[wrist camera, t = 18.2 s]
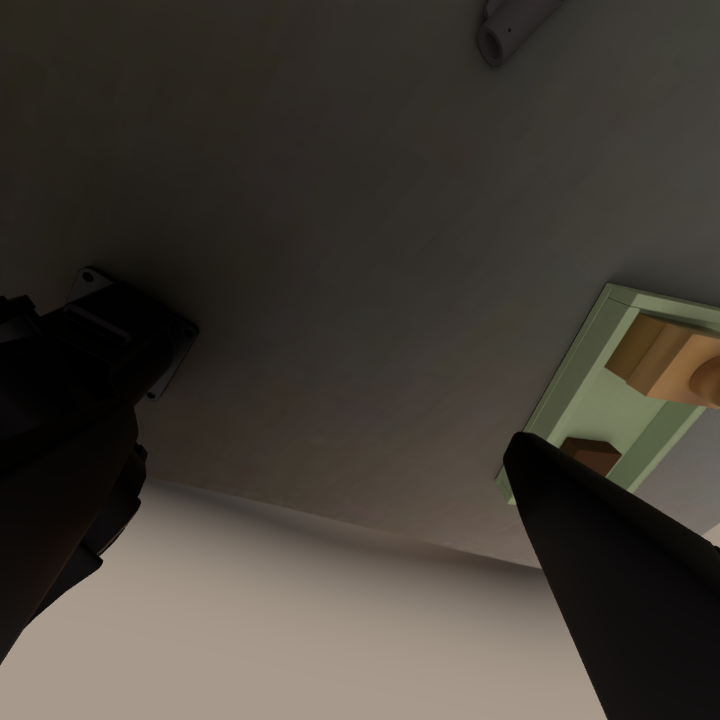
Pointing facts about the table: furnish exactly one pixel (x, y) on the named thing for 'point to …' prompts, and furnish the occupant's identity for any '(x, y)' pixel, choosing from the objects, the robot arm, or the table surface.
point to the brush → (669, 360)
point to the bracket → (510, 26)
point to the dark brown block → (592, 453)
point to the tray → (615, 389)
